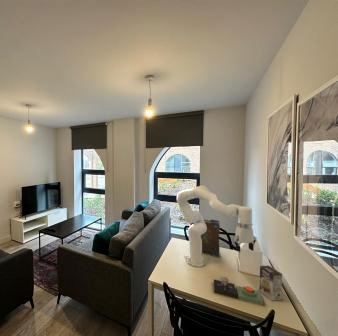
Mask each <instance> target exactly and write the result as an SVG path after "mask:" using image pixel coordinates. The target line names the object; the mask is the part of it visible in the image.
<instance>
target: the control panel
mask: <svg viewBox="0 0 338 336" xmlns="http://www.w3.org/2000/svg"><path fill="white" fill-rule="evenodd" d="M213 292H214V294H217V295H221V296H225V297H229V298H232V299H238V294H237V290H236V284H235V283H232V282H228V288H223V287H222V286H221V280H218V279H213Z"/></svg>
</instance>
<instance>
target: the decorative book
mask: <svg viewBox="0 0 338 336" xmlns="http://www.w3.org/2000/svg"><path fill="white" fill-rule="evenodd" d="M203 220H204V222H205V224H206V227H207V231H206V232H205V233H204V234H202V235H201V240H202V254H203V255H209V256H211V257H217V258H220V257H221V256H220V253H221V251H220V231H221V229H220V228H221V227H220V226H221V222H220V220H219V219H205V218H203ZM193 224H194V222H193V223H189V227H190V226H191V225H193Z"/></svg>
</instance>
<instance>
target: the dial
mask: <svg viewBox="0 0 338 336" xmlns="http://www.w3.org/2000/svg"><path fill="white" fill-rule="evenodd" d="M220 281H221V286H222V287H223V288H228V283H229V278H228V277H226V276H221V277H220Z"/></svg>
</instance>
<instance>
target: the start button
mask: <svg viewBox="0 0 338 336" xmlns="http://www.w3.org/2000/svg"><path fill="white" fill-rule="evenodd" d="M244 287H245V291H247V292H249V293H253V289H254V288H253V287H251V286H250V285H246V286H244Z"/></svg>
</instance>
